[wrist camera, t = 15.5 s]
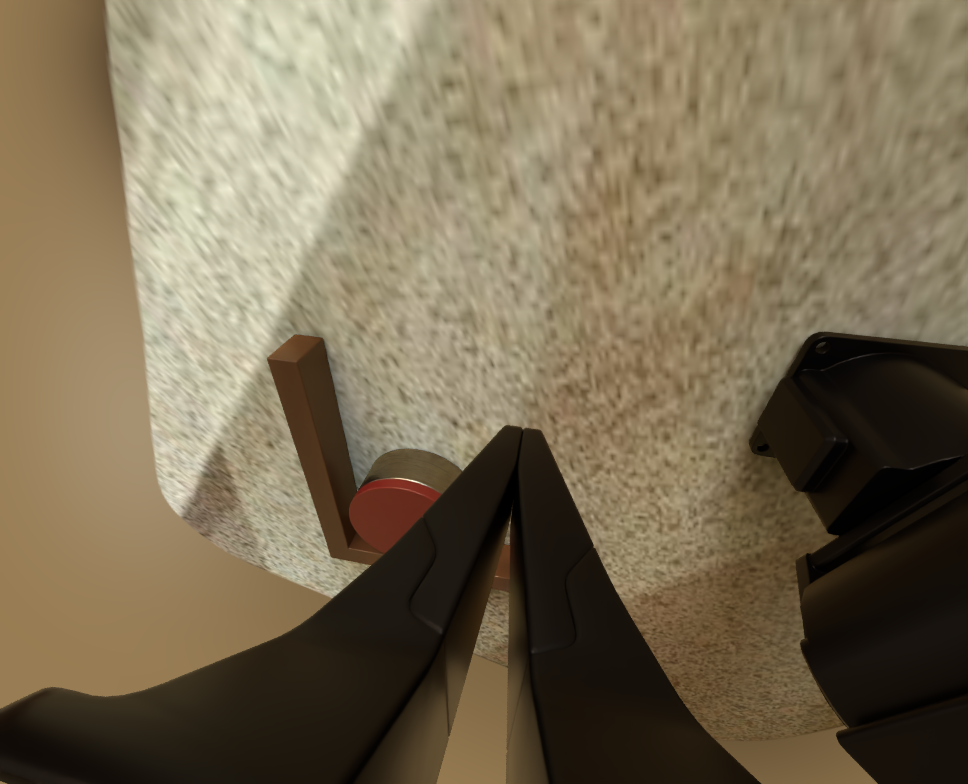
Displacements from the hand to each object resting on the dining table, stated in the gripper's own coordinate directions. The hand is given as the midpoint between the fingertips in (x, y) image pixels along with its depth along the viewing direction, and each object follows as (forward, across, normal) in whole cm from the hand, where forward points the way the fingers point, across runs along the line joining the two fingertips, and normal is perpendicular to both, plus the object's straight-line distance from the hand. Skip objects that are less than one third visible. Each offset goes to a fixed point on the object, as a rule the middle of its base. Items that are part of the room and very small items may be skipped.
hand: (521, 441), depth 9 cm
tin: (+10, +6, +14) cm, 19 cm away
